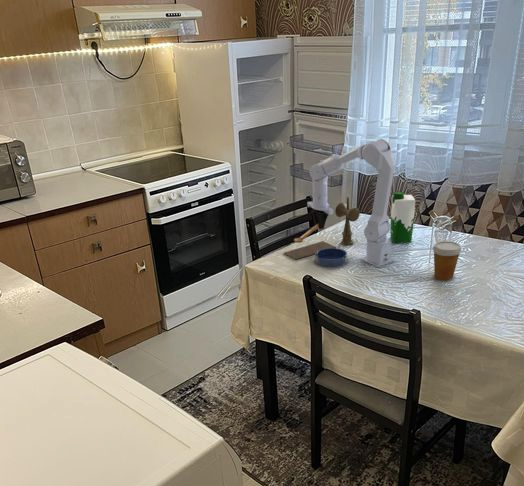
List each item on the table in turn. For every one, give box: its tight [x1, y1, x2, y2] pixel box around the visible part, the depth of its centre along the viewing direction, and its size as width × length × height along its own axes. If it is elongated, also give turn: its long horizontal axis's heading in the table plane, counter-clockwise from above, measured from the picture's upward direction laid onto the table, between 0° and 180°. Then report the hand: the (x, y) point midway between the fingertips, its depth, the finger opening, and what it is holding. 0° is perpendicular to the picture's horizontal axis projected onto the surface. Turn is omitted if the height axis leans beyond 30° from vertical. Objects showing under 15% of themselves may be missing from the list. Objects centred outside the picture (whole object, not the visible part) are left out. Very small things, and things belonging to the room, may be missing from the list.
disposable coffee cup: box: [432, 240, 462, 282], centre depth 191 cm, size 10×10×12 cm
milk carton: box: [389, 190, 416, 244], centre depth 222 cm, size 9×9×20 cm
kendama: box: [334, 196, 361, 246], centre depth 222 cm, size 6×10×20 cm, turn 30°
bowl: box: [314, 247, 348, 268], centre depth 211 cm, size 12×12×4 cm
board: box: [283, 240, 337, 261], centre depth 222 cm, size 20×9×1 cm, turn 122°
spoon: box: [293, 224, 319, 244], centre depth 217 cm, size 14×4×6 cm, turn 122°
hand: (320, 228), depth 220 cm, fingers closed on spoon
